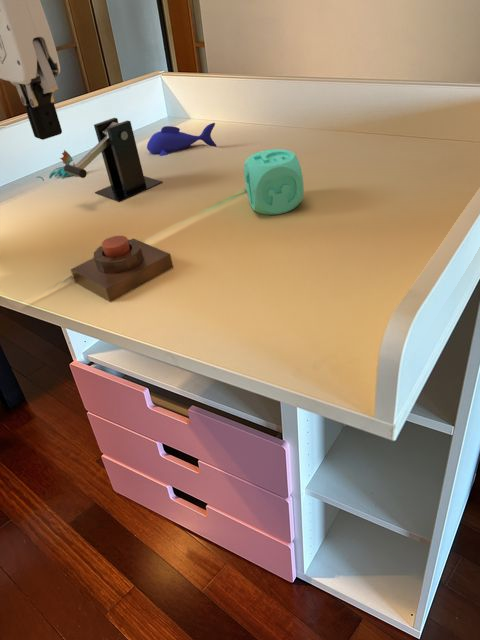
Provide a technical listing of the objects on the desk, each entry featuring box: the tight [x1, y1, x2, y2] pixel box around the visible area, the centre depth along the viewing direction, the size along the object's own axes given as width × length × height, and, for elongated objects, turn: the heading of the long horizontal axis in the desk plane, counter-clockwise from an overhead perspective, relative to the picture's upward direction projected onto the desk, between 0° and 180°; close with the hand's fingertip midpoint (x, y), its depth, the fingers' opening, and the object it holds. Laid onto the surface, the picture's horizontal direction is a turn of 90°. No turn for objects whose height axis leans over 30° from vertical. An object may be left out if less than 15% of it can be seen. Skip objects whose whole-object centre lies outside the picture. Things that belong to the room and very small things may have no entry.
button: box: [101, 235, 130, 258], centre depth 78 cm, size 4×4×2 cm
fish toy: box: [146, 122, 217, 157], centre depth 118 cm, size 15×8×7 cm, turn 100°
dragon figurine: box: [35, 149, 79, 182], centre depth 114 cm, size 7×7×8 cm
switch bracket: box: [93, 117, 164, 203], centre depth 102 cm, size 10×8×13 cm
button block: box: [70, 237, 174, 303], centre depth 80 cm, size 11×9×4 cm
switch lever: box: [64, 122, 119, 179], centre depth 98 cm, size 12×5×2 cm, turn 136°
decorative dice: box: [243, 148, 305, 216], centre depth 92 cm, size 8×8×8 cm
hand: (48, 135), depth 74 cm, fingers closed
